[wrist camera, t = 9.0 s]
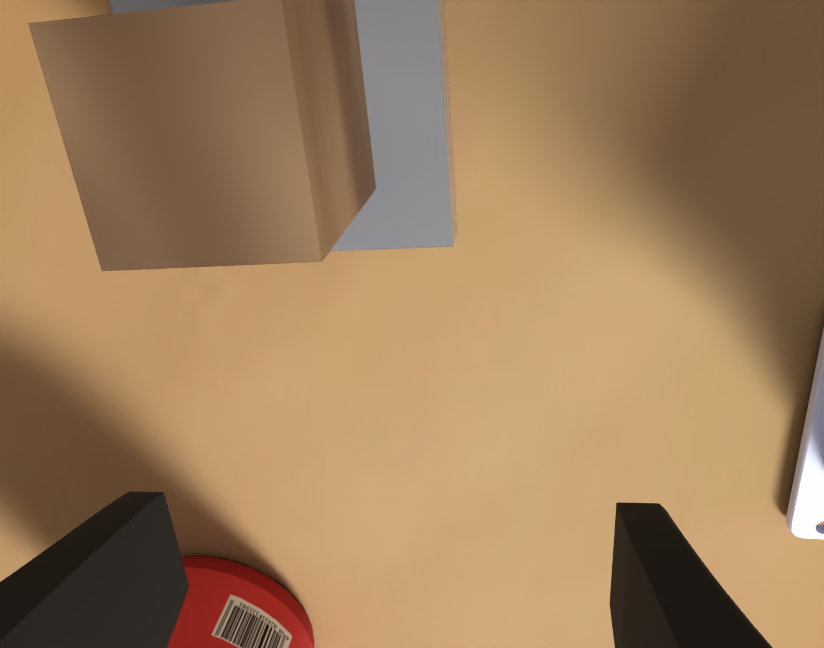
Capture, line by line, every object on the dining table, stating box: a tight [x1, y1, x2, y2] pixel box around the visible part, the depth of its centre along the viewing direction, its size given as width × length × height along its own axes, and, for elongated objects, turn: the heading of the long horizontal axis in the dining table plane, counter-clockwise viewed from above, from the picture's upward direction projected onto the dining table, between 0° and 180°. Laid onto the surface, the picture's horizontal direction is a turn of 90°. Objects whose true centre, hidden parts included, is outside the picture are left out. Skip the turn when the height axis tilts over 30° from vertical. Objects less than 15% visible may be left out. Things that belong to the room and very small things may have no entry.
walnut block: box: [28, 0, 376, 271], centre depth 15 cm, size 4×4×6 cm
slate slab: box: [110, 0, 457, 251], centre depth 18 cm, size 8×8×2 cm
